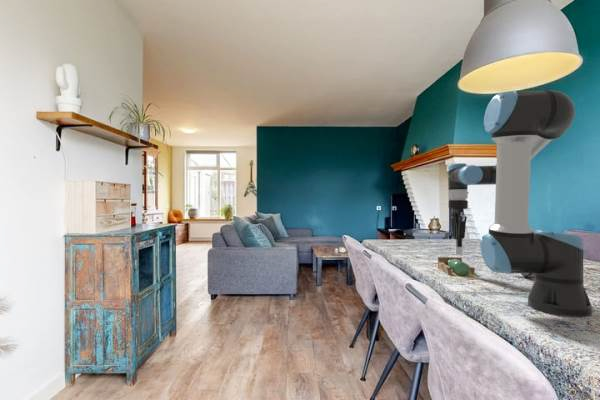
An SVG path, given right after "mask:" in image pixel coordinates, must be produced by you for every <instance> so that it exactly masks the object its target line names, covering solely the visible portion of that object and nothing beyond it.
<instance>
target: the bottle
mask: <svg viewBox="0 0 600 400" xmlns="http://www.w3.org/2000/svg"><path fill="white" fill-rule="evenodd" d="M467 264H468V263H466V264H465V262H464V261H462V262H461V261H459V260H457V259H452V260H449V261H448V266H449V267H451V270H452V271H454V272H455V273H457V274H459V275H460V276H466V275H468V274H469V272H470V268H469V266H468V265H469V264H468V265H467Z"/></svg>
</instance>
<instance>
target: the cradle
mask: <svg viewBox="0 0 600 400" xmlns="http://www.w3.org/2000/svg"><path fill="white" fill-rule="evenodd" d="M452 259H457V260H459V261H461V262H463V257H461V256H459V257H458V256H457V257H454V256H438V257H437V269H438V270H440V271H441V272H443V273H444V274H445V275H447V276H449V277H450V278H452V279H455V280H457V279H459V280H482V277H479V276H478V275H476V272H475V269H476V268H475V267H474V266H471V265H470V264H468V263H465V262H464V263H465V264H467V265H468V266H469V268H470V272H469V274H468V275H466V276H460V275H459V274H457V273H455V272H454V271H452V270H451V267H449V266H448V261H449V260H452Z"/></svg>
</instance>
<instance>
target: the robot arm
mask: <svg viewBox="0 0 600 400" xmlns="http://www.w3.org/2000/svg"><path fill="white" fill-rule="evenodd" d="M575 115H576V110H575V104H574V101H573V100H572V99H571V98H570V97H569V96H568V95H567V94H566V93H563V92H561V91H558V90H553V89H545V90H512V91H503V92H500V93H497V94H495V95H494V96H493V97H492V98H491V100H490V102H488V104H487V107H486V109H485V112H484V115H483V116H484V117H483V127H484V131H485V132H486V133H488V134H491V141H492V142H494V143H495V145H496V164H495V165H474V164H471V165H468V164H466V163H461V162H459V163H450V164H449V165H448V170H447V180H448V184H447V185H448V188H447V189H448V190H447V191H448V192H447V195H448V197H447V198H448V209H451V210H452V213H451V215H449V218H450V224H451V234H452V235H451V236H452V237H453V239H454V255H457V256H458V255H461V256H462V255H463V240H464V239H465V237H466V236H465V235H466V227H467V226H466V223H467V221H468V220H467V219H468V217H467V216H465V212H464V209H465V210H467V209H468V208H469V204H468V203H469V201H468V200H467V199H468V194H469V191H468V189H469V188H468V186H475V185H476V186H477V185H478V186H479V185H480V186H481V185H483V186H484V185H485V186H486V185H488V186H490V185H495V201H494V203H495V205H494V222H493V224H492V225H490V226H489V227H488V233H487V234H484V235H482V236H481V239H480V242H479V244H480V245H479V246H480V248H479V249H480V254H481V257H482V260H483V261H484V264H485V266H486V267H487V268H488V269H489V270H490V271H491V272H493V273H497V274H507V275H509V274H521V273H535V276H534V281H533V284H532V286H531V288H530V291H529V294H528V297H527V304H528V306H529V307H531V308H532V309H534V310H537V311H541V312H543V313H547V314H552V315H559V316H566V317H588V316H591V315H592V313H593V310H592V309H593V306H592V303H591V301H590V298H589V296H588V293H587V291H586V289H585V286H584V252H585V249H584V242H583V238H582V237H581V236H580V235H577V234H572V233H568V232H567V233H566V232H564V233H563V232H557V231H549V230H541V229H535V230H534V229H533V228H532V227H531V226H530V225H529V211H530V210H529V209H530V190H531V189H530V185H531V183H530V182H531V178H530V177H531V161H532V159H533V158H535V156H537V154H539V152H541V151H542V150H543V149H544V148H545V147H546V146H547V145H548V144H549V143H551V141H553V140H557V139H559V138H561V137H562V136H563V135H564V134H565V133H566V132H567V131H569V128H570V127H571V125H572V124H573V122H574V119H575Z"/></svg>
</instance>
